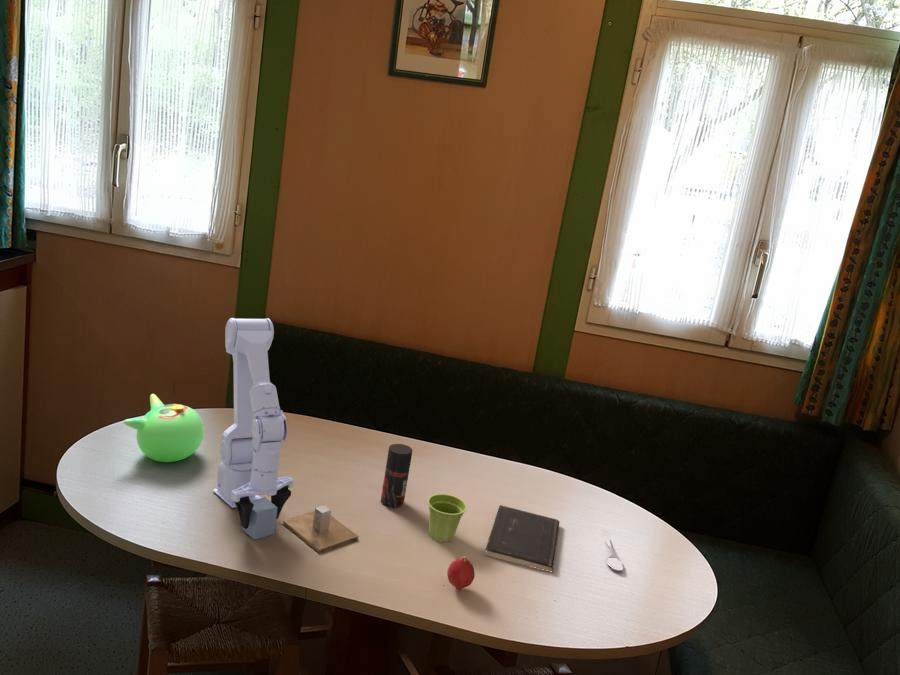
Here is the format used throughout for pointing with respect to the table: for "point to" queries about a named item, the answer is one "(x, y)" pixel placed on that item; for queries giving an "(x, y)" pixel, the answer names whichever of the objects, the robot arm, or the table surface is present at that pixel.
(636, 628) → the table surface
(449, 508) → the plant pot
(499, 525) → the hardcover book
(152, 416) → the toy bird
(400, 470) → the deodorant
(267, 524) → the pale blue cuboid
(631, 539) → the table surface
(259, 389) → the robot arm
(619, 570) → the spoon
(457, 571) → the onion
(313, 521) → the wooden board
